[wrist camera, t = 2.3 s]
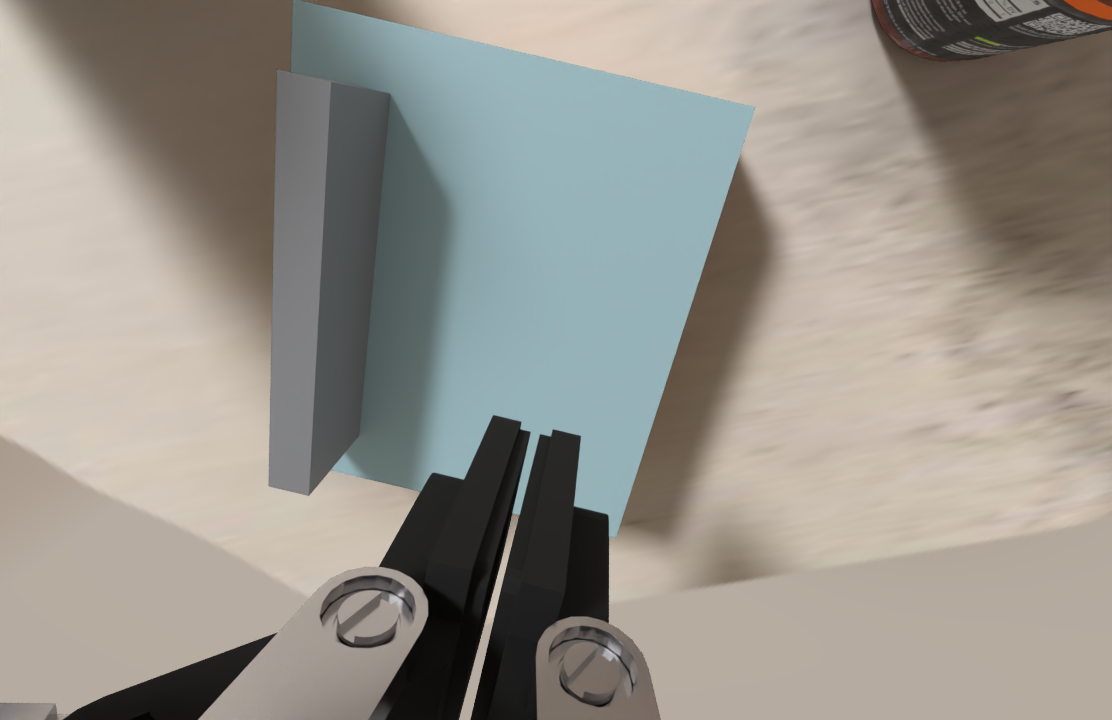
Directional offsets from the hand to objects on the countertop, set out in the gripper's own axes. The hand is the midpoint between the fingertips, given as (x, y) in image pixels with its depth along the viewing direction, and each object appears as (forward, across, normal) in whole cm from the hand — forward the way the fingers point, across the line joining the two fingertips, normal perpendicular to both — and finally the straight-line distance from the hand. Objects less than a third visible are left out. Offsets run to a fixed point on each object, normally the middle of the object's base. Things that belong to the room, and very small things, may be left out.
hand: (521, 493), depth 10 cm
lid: (+8, +3, -1) cm, 9 cm away
